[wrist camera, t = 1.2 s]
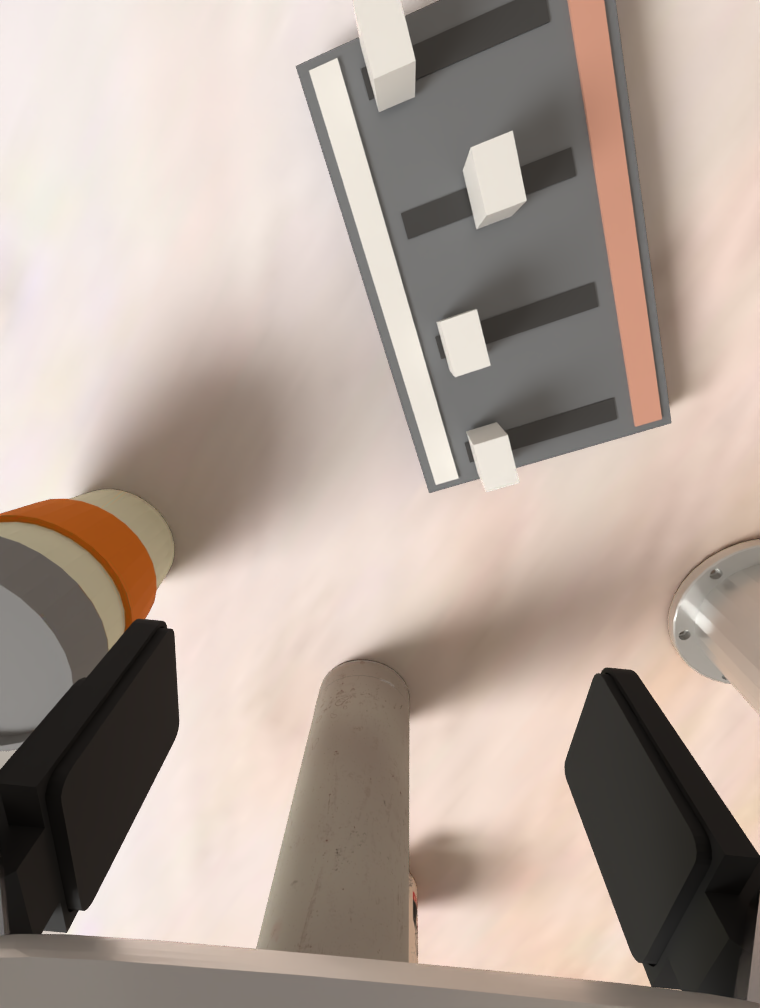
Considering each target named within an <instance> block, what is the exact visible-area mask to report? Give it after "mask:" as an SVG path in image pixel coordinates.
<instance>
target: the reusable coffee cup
mask: <svg viewBox="0 0 760 1008" xmlns="http://www.w3.org/2000/svg"><path fill="white" fill-rule="evenodd" d="M173 559H174V541H173V537H172V534H171V531H170V529H169V527H168V525H167V523H166V522H165V520H164V519H163V517H162V516H161V515H160V514H159V512H158V511H157V510H156V509H155V508H154V507H153V506H151V505H150V504H149V503H147V502H146V501H145V500H143V499H141V498H139V497H138V496H136V495H134V494H131V493H128V492H125V491H121V490H115V489H100V490H96V491H92V492H89V493H86V494H83V495H80V496H76V497H73V498H70V499H50V500H46V501H42V502H38V503H34V504H31V505H27V506H24V507H21V508H18V509H14V510H11V511H8V512H4V513H1V514H0V751H10V750H17V749H18V748H19V747H20V746H21V745H22V744H23V742H24V741H25V740H26V739H27V738H28V737H29V735H30V734H31V733H32V732H33V731H34V730H35V728H36V727H37V726H38V725H39V724H40V723H41V721H42V720H43V719H44V718H45V717H46V716H47V714H48V713H49V712H50V711H51V710H52V709H53V707H54V706H55V705H56V704H57V703H58V702H59V700H60V699H61V698H62V697H63V696H64V695H65V693H66V692H67V691H68V690H69V689H70V688H71V686H72V685H73V684H74V683H75V682H77V681H78V680H79V679H81V678H83V677H86V678H87V676H88V675H89V674H90V673H91V672H92V670H93V669H94V668H95V667H96V666H97V664H98V663H99V662H100V661H101V660H102V658H103V657H104V656H105V655H106V654H107V652H108V651H109V650H110V649H111V648H112V646H113V645H114V644H115V643H116V642H117V640H118V639H119V638H120V637H121V636H122V635H123V633H124V632H125V631H126V630H127V629H128V627H129V626H130V625H131V624H132V623H133V622H134V621H135V620H136V619H145V618H146V617H147V615H148V613H149V612H150V609H151V607H152V605H153V603H154V600H155V595H156V590H157V589H158V587H159V586H160V584H161V583H162V581H163V579H164V578H165V576H166V575H167V573H168V572H169V570H170V568H171V566H172V564H173Z"/></svg>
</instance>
